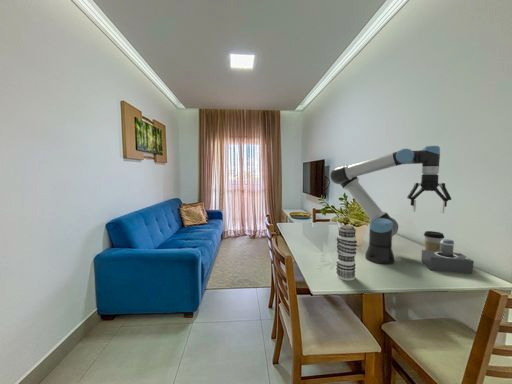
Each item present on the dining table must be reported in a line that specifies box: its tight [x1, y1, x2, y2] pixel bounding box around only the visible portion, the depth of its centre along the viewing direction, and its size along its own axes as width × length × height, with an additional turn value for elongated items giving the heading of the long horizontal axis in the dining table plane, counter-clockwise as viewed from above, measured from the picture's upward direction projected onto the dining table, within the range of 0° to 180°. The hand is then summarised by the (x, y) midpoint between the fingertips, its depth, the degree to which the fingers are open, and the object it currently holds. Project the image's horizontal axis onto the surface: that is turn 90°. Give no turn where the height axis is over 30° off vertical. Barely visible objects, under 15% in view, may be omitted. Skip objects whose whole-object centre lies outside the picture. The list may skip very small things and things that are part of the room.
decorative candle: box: [335, 224, 358, 282], centre depth 112 cm, size 9×9×25 cm
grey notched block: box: [420, 249, 475, 275], centre depth 123 cm, size 18×12×8 cm, turn 72°
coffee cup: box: [423, 230, 445, 251], centre depth 138 cm, size 10×10×15 cm
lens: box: [439, 238, 455, 258], centre depth 122 cm, size 6×6×10 cm
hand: (427, 212), depth 130 cm, fingers open, 13 cm apart
